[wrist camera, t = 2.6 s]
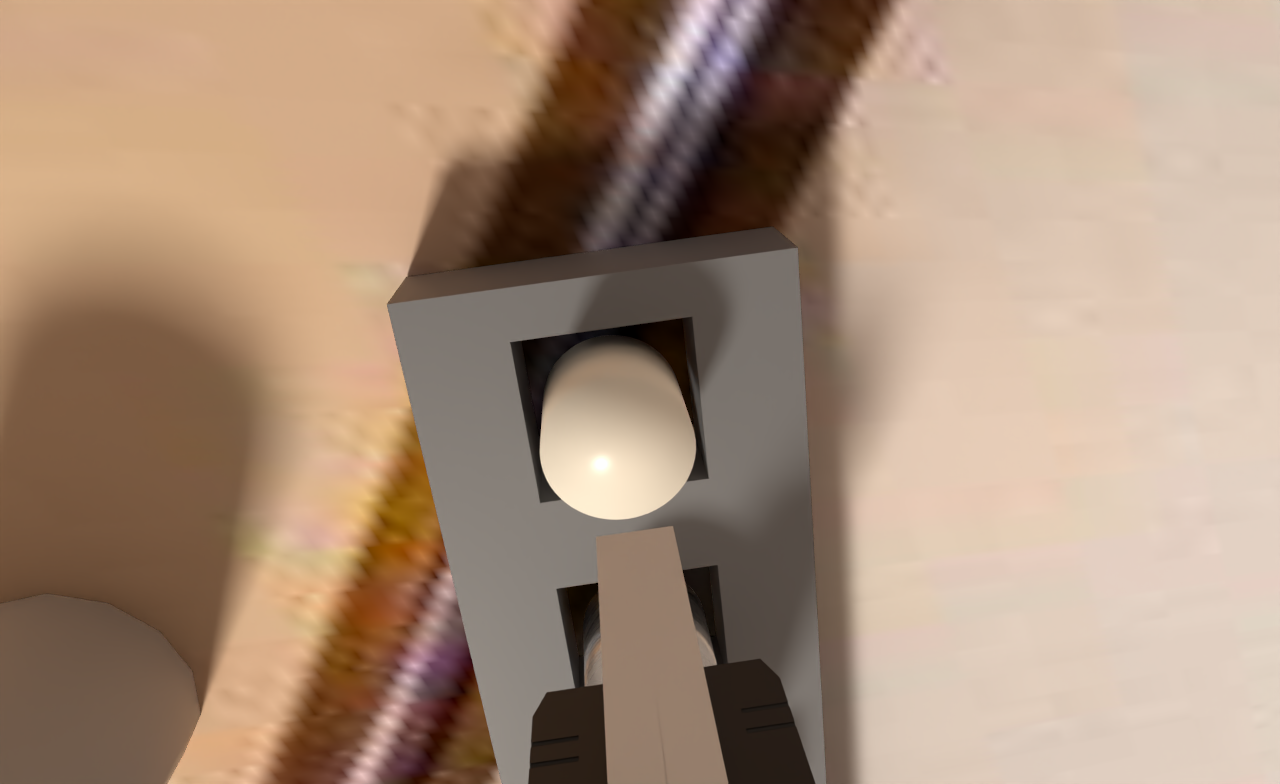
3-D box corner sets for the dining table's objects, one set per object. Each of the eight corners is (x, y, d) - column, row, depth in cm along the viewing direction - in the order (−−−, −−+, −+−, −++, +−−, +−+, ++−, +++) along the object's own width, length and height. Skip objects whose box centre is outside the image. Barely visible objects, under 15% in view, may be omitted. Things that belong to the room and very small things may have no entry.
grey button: (574, 581, 27) (575, 652, 24) (698, 563, 28) (716, 631, 24) (592, 681, 29) (595, 760, 26) (710, 663, 29) (727, 740, 26)
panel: (406, 277, 26) (359, 342, 20) (773, 226, 26) (831, 276, 20) (562, 961, 37) (561, 1129, 31) (817, 920, 37) (862, 1080, 31)
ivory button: (532, 345, 25) (527, 389, 21) (671, 325, 25) (687, 367, 21) (554, 470, 26) (553, 530, 23) (685, 451, 26) (702, 507, 23)
